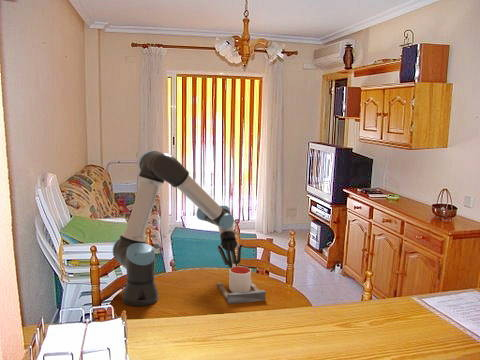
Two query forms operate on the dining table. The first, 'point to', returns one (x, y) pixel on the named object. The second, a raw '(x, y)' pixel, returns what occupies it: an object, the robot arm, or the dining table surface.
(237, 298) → the grey tray
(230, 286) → the cup
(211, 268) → the dining table surface
